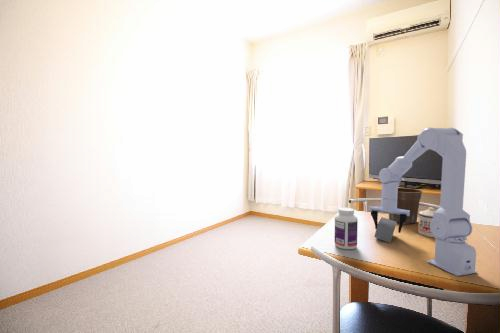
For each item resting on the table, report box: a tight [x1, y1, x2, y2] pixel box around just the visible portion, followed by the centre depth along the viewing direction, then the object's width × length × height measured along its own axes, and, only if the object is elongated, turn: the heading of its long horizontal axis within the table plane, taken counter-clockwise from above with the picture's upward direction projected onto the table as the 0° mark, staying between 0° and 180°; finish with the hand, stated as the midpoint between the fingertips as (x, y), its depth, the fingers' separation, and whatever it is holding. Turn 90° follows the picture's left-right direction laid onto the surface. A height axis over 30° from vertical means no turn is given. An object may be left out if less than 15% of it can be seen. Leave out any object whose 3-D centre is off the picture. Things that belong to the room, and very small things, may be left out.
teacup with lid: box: [417, 206, 437, 239], centre depth 106 cm, size 12×9×12 cm
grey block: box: [373, 216, 397, 244], centre depth 104 cm, size 11×6×6 cm, turn 146°
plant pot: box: [388, 187, 424, 225], centre depth 128 cm, size 16×16×16 cm
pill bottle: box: [334, 207, 359, 250], centre depth 95 cm, size 8×8×14 cm
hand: (387, 230), depth 104 cm, fingers open, 7 cm apart
